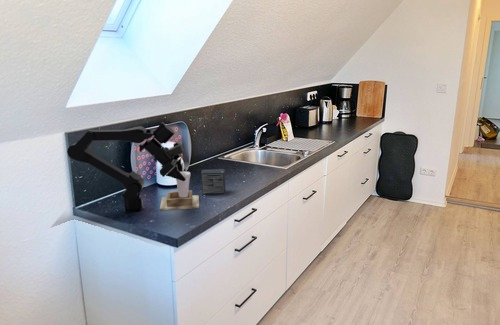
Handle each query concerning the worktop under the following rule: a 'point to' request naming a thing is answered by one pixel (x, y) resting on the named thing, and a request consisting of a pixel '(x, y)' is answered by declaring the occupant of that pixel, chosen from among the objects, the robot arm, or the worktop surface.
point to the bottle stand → (179, 201)
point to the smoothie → (183, 183)
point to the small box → (213, 182)
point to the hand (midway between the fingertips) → (186, 177)
